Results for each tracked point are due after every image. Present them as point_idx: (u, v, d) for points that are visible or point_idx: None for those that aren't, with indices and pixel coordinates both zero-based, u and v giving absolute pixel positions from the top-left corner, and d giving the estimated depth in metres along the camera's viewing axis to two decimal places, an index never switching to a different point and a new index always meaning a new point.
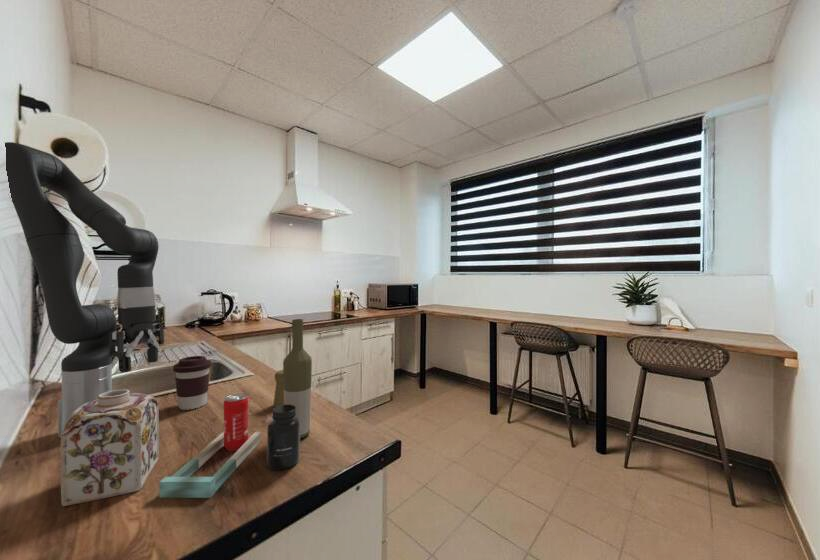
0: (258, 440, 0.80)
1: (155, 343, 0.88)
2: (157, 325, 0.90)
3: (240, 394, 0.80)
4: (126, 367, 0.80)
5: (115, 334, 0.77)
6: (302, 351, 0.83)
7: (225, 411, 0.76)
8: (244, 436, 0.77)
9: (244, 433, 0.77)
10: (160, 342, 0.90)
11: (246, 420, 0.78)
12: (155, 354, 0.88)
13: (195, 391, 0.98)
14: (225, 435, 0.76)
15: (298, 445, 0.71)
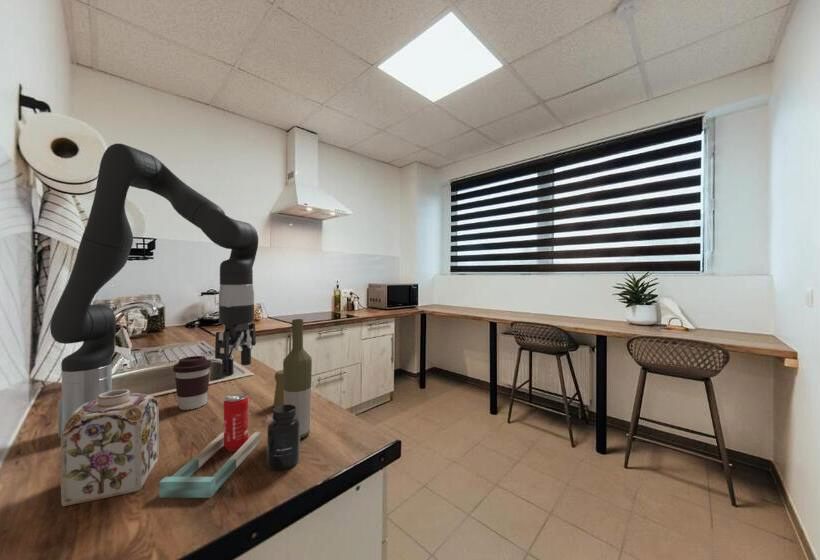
0: (258, 440, 0.80)
1: (250, 344, 0.82)
2: (251, 325, 0.84)
3: (240, 394, 0.80)
4: (229, 371, 0.74)
5: (222, 335, 0.71)
6: (302, 351, 0.83)
7: (225, 411, 0.76)
8: (244, 436, 0.77)
9: (244, 432, 0.77)
10: (253, 343, 0.84)
11: (246, 420, 0.78)
12: (249, 356, 0.82)
13: (195, 391, 0.98)
14: (225, 435, 0.76)
15: (298, 445, 0.71)
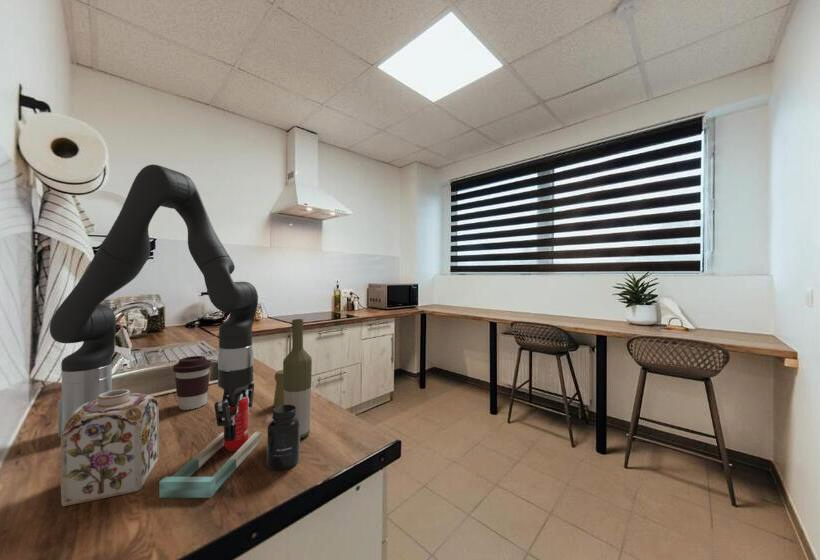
0: (258, 440, 0.80)
1: None
2: (250, 385, 0.84)
3: None
4: (231, 436, 0.75)
5: (221, 406, 0.71)
6: (302, 351, 0.83)
7: None
8: (244, 436, 0.77)
9: (244, 432, 0.77)
10: (249, 405, 0.83)
11: (246, 420, 0.78)
12: None
13: (195, 391, 0.98)
14: None
15: (298, 445, 0.71)
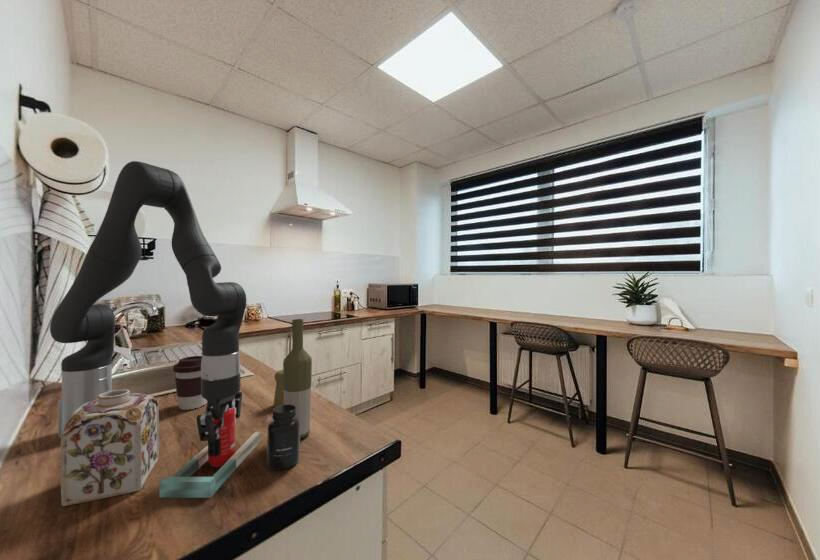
0: (258, 440, 0.80)
1: None
2: (237, 394, 0.77)
3: None
4: (216, 451, 0.69)
5: (204, 420, 0.65)
6: (302, 351, 0.83)
7: None
8: (231, 450, 0.71)
9: (231, 446, 0.71)
10: (237, 416, 0.76)
11: (232, 433, 0.72)
12: None
13: (195, 391, 0.98)
14: None
15: (298, 445, 0.71)
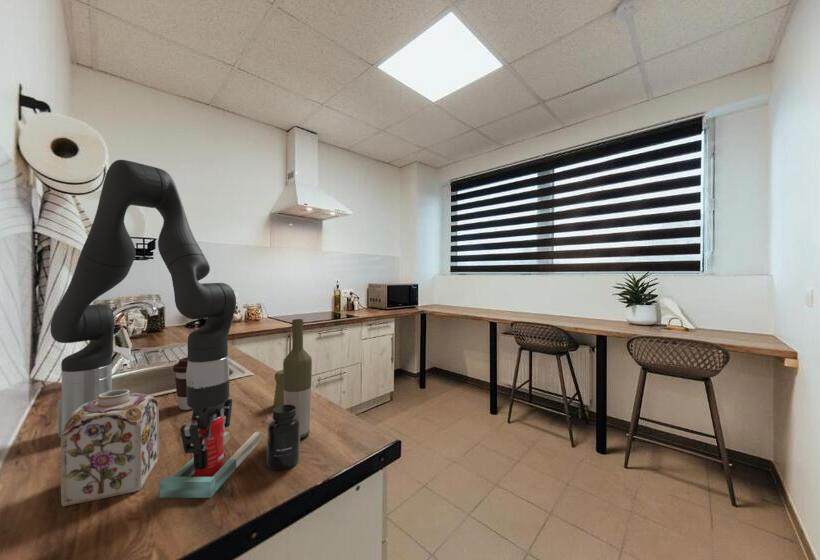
0: (258, 440, 0.80)
1: None
2: (227, 401, 0.73)
3: None
4: (202, 464, 0.64)
5: (188, 431, 0.60)
6: (302, 351, 0.83)
7: None
8: (219, 462, 0.67)
9: (219, 458, 0.67)
10: (226, 425, 0.72)
11: (221, 444, 0.67)
12: None
13: None
14: None
15: (298, 445, 0.71)
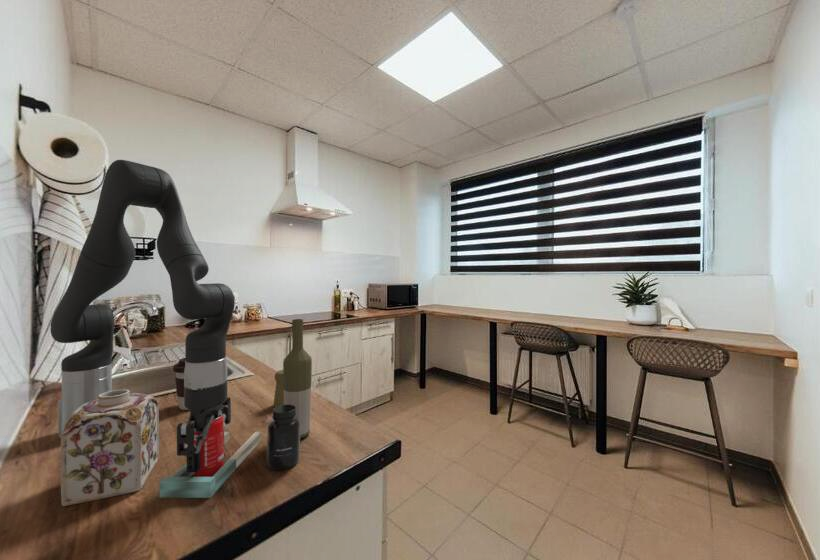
0: (258, 440, 0.80)
1: (223, 425, 0.70)
2: (225, 400, 0.72)
3: None
4: (195, 466, 0.62)
5: (185, 428, 0.60)
6: (302, 351, 0.83)
7: (195, 434, 0.65)
8: (219, 462, 0.67)
9: (219, 458, 0.67)
10: (227, 422, 0.72)
11: (221, 444, 0.67)
12: None
13: None
14: None
15: (298, 445, 0.71)
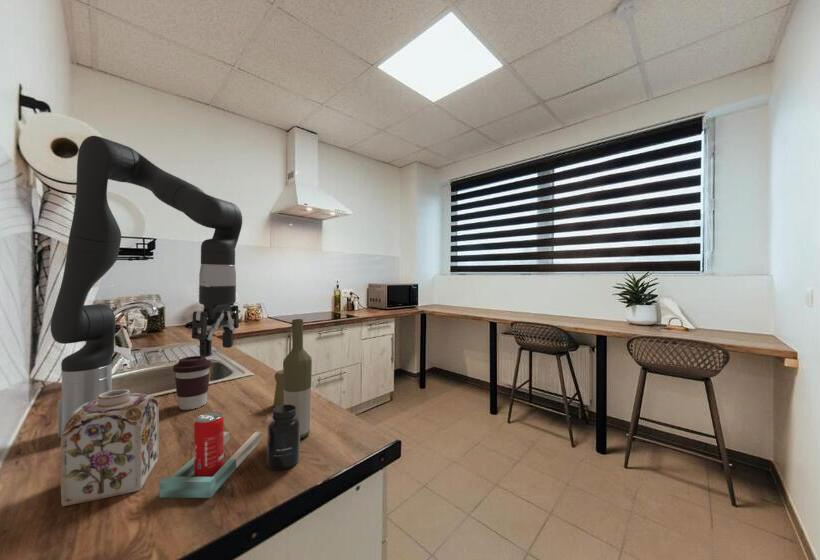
0: (258, 440, 0.80)
1: (231, 327, 0.81)
2: (233, 307, 0.82)
3: (214, 413, 0.69)
4: (207, 352, 0.72)
5: (199, 314, 0.70)
6: (302, 351, 0.83)
7: (196, 434, 0.65)
8: (219, 462, 0.67)
9: (219, 458, 0.67)
10: (235, 326, 0.83)
11: (221, 444, 0.67)
12: (231, 339, 0.81)
13: (195, 391, 0.98)
14: (196, 462, 0.65)
15: (298, 445, 0.71)
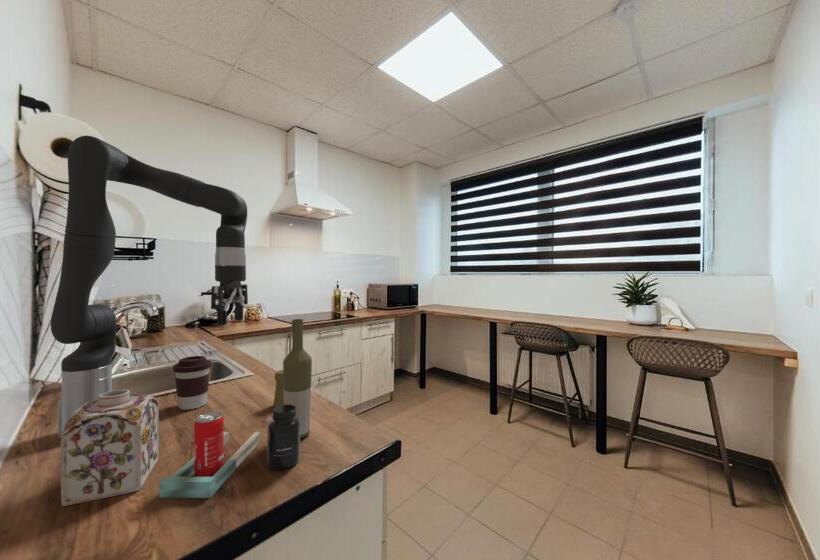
0: (258, 440, 0.80)
1: (242, 302, 0.94)
2: (243, 286, 0.95)
3: (214, 413, 0.69)
4: (223, 321, 0.85)
5: (217, 288, 0.83)
6: (302, 351, 0.83)
7: (195, 434, 0.65)
8: (219, 462, 0.67)
9: (219, 458, 0.67)
10: (245, 302, 0.96)
11: (221, 444, 0.67)
12: (242, 312, 0.94)
13: (195, 391, 0.98)
14: (196, 462, 0.65)
15: (298, 445, 0.71)
